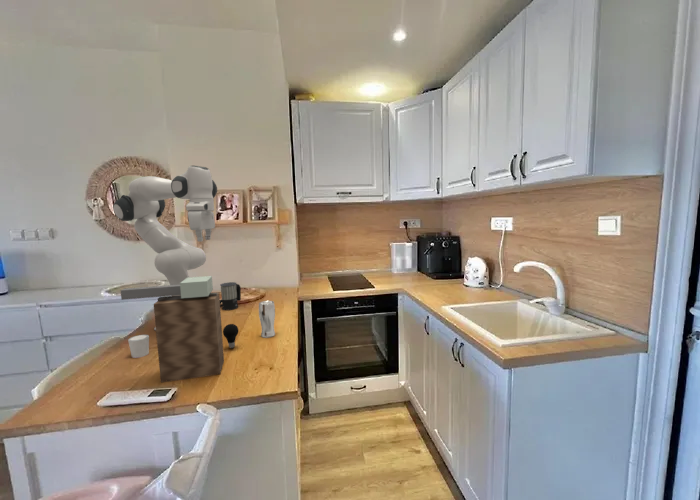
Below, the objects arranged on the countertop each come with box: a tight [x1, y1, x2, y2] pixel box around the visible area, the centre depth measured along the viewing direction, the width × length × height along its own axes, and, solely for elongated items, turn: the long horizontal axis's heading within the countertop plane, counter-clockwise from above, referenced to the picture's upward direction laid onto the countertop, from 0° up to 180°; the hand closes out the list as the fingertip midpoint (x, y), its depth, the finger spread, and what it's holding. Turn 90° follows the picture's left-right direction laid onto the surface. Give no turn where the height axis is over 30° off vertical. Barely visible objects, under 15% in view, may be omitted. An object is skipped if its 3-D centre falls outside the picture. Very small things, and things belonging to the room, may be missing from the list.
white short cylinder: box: [127, 334, 150, 359], centre depth 124 cm, size 7×7×7 cm
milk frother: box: [220, 281, 242, 311], centre depth 189 cm, size 14×16×15 cm
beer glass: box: [258, 300, 276, 339], centre depth 141 cm, size 7×7×15 cm
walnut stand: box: [153, 292, 225, 383], centre depth 108 cm, size 18×10×27 cm, turn 105°
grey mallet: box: [120, 275, 214, 300], centre depth 105 cm, size 26×10×5 cm, turn 105°
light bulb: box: [222, 323, 239, 349], centre depth 128 cm, size 6×6×10 cm
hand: (204, 240), depth 129 cm, fingers open, 8 cm apart
